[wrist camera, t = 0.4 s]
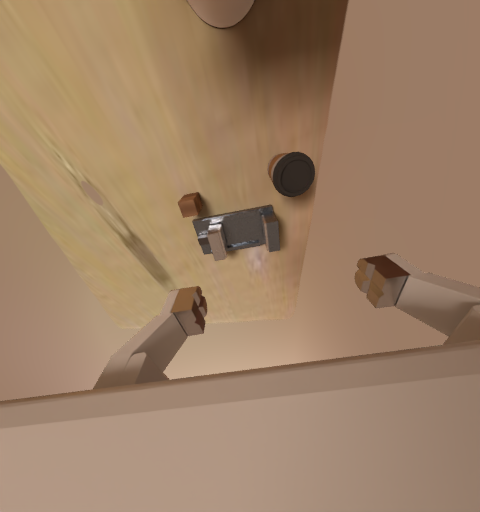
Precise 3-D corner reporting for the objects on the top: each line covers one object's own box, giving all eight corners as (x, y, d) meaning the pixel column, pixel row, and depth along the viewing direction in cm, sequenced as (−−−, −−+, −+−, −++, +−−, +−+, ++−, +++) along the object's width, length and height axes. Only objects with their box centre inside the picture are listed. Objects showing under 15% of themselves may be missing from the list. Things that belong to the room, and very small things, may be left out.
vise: (193, 219, 54) (186, 232, 46) (271, 204, 52) (277, 215, 45) (204, 252, 60) (200, 268, 53) (274, 239, 59) (280, 254, 51)
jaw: (195, 226, 53) (190, 237, 47) (221, 221, 53) (219, 232, 47) (203, 250, 58) (200, 263, 52) (227, 246, 57) (227, 258, 51)
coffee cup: (274, 190, 50) (288, 207, 38) (257, 165, 46) (266, 174, 34) (300, 169, 47) (324, 180, 35) (284, 141, 44) (304, 141, 31)
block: (184, 194, 50) (177, 202, 44) (198, 192, 50) (193, 199, 43) (189, 208, 52) (183, 217, 46) (202, 205, 52) (198, 214, 46)
